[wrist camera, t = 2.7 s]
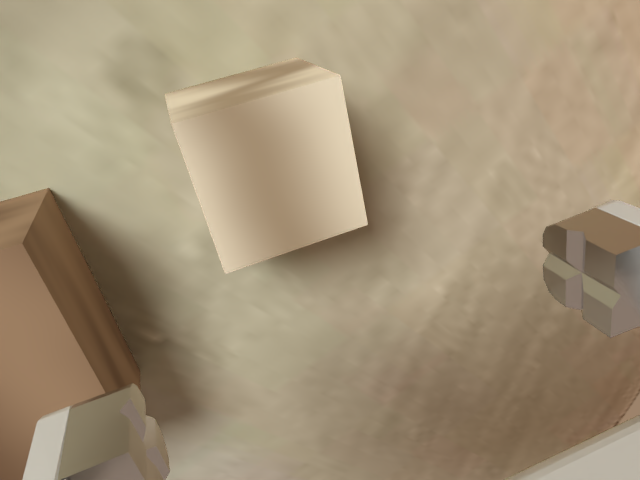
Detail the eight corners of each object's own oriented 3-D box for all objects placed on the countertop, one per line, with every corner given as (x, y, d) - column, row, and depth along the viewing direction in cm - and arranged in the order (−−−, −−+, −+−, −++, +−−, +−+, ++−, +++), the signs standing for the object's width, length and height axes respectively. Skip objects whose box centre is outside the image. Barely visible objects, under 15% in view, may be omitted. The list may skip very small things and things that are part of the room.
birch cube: (295, 57, 19) (340, 75, 15) (322, 178, 21) (368, 224, 17) (164, 93, 18) (170, 123, 14) (207, 215, 21) (225, 274, 16)
